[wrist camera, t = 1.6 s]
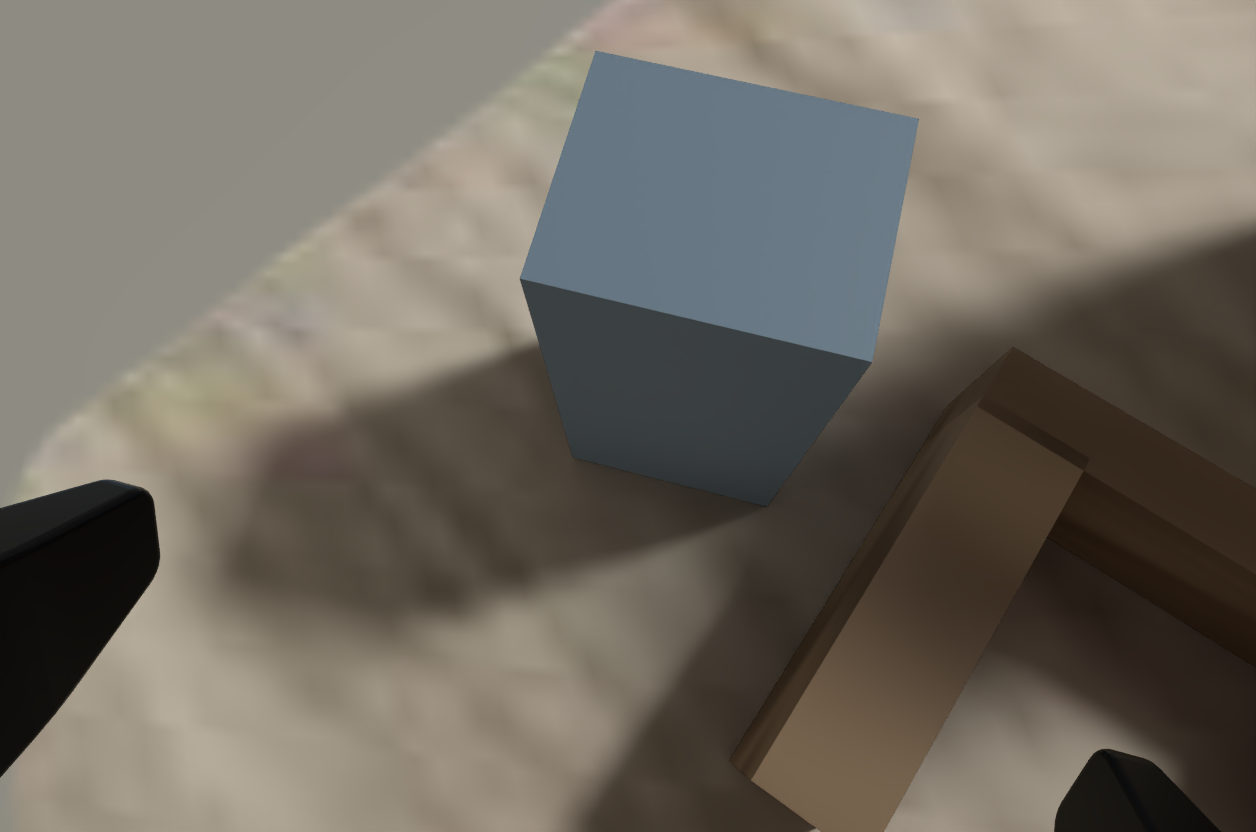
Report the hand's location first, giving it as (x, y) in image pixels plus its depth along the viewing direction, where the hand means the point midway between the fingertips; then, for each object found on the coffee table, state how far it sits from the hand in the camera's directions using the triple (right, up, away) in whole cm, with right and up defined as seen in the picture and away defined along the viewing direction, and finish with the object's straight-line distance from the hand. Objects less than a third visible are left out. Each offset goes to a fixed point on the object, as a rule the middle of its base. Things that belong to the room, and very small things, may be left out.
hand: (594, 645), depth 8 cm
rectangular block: (+2, +2, +14) cm, 14 cm away
